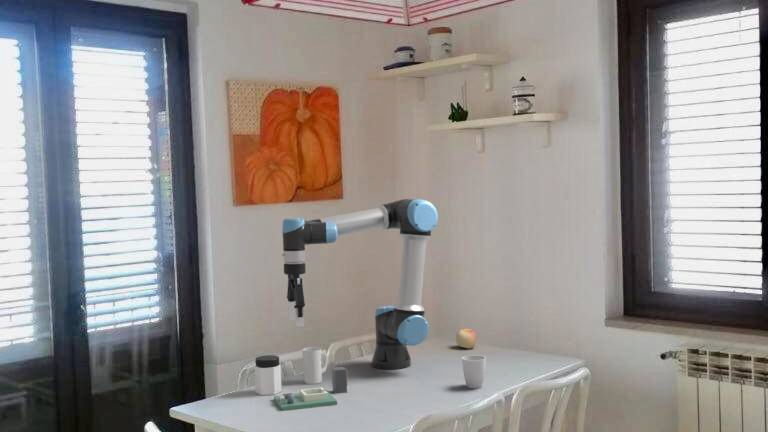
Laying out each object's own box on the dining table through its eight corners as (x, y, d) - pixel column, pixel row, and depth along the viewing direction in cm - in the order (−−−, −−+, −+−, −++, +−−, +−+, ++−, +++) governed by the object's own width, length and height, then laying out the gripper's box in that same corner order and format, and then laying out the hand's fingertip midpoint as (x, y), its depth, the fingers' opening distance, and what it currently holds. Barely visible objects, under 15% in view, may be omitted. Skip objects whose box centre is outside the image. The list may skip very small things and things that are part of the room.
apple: (466, 345, 350) (465, 326, 350) (481, 348, 344) (481, 329, 343) (451, 348, 345) (451, 329, 344) (466, 351, 338) (466, 332, 338)
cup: (487, 384, 285) (487, 355, 284) (484, 390, 277) (483, 360, 276) (464, 382, 287) (464, 354, 286) (460, 388, 279) (460, 360, 279)
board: (326, 393, 277) (326, 383, 277) (337, 404, 263) (336, 393, 263) (273, 399, 271) (273, 388, 271) (282, 410, 258) (281, 399, 258)
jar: (265, 388, 286) (264, 354, 286) (285, 390, 283) (284, 355, 282) (251, 394, 278) (250, 359, 278) (271, 396, 275) (270, 361, 274)
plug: (345, 389, 282) (344, 366, 282) (348, 392, 278) (348, 369, 278) (332, 390, 281) (332, 367, 280) (335, 393, 277) (335, 370, 276)
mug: (309, 385, 288) (308, 351, 288) (299, 381, 294) (298, 348, 293) (333, 380, 294) (332, 347, 294) (323, 377, 300) (322, 344, 299)
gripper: (277, 259, 294) (279, 318, 295) (290, 266, 270) (292, 330, 271) (298, 258, 296) (300, 316, 297) (312, 265, 272) (314, 328, 273)
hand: (296, 323), depth 284 cm, fingers open, 13 cm apart
